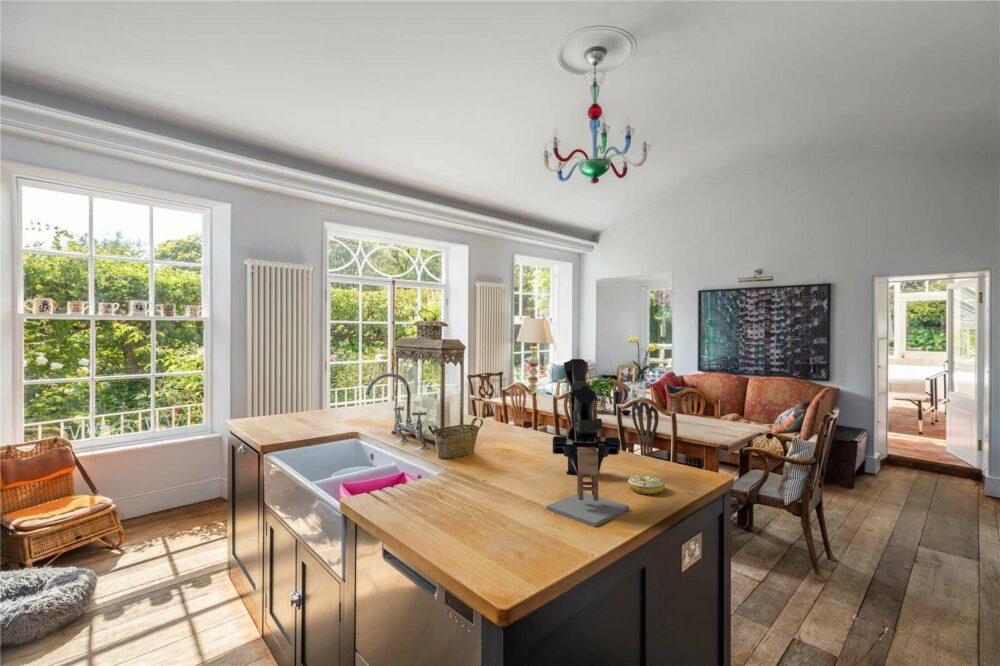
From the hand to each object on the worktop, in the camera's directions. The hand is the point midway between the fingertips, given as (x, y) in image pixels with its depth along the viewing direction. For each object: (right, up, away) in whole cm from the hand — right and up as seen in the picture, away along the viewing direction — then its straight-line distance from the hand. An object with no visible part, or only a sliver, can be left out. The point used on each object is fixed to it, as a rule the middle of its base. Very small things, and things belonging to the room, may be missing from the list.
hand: (587, 472), depth 126 cm
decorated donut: (+21, -11, +17) cm, 29 cm away
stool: (0, -7, +1) cm, 7 cm away
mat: (0, -10, +1) cm, 11 cm away
